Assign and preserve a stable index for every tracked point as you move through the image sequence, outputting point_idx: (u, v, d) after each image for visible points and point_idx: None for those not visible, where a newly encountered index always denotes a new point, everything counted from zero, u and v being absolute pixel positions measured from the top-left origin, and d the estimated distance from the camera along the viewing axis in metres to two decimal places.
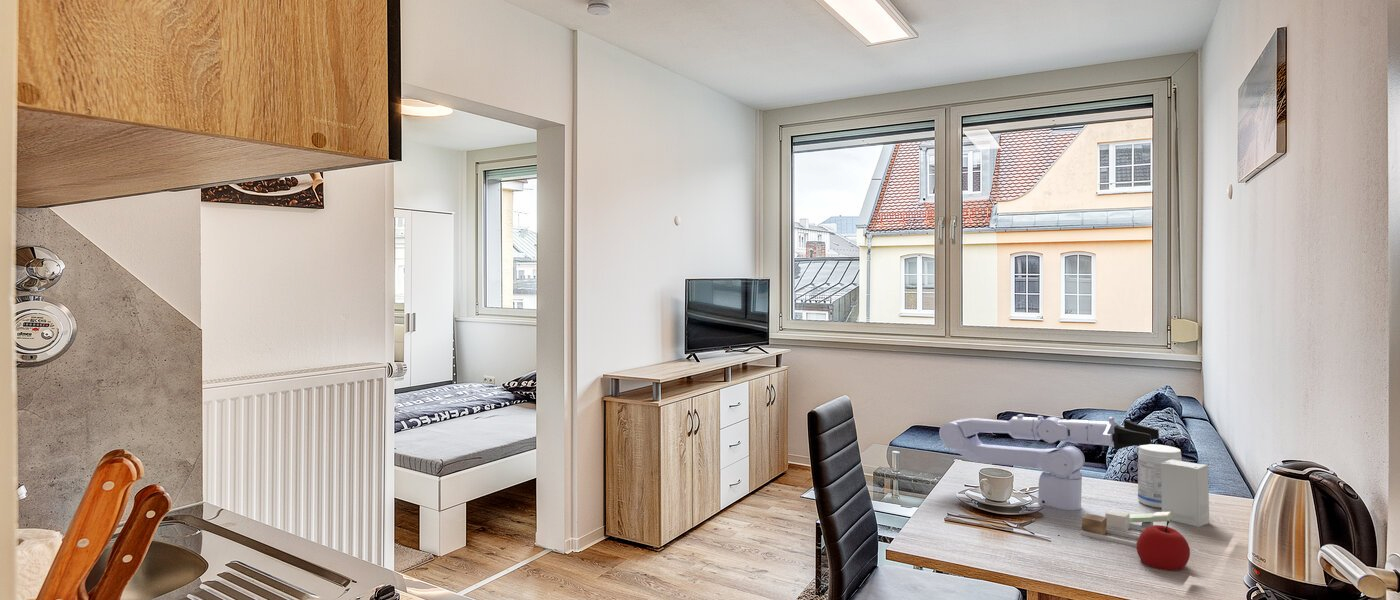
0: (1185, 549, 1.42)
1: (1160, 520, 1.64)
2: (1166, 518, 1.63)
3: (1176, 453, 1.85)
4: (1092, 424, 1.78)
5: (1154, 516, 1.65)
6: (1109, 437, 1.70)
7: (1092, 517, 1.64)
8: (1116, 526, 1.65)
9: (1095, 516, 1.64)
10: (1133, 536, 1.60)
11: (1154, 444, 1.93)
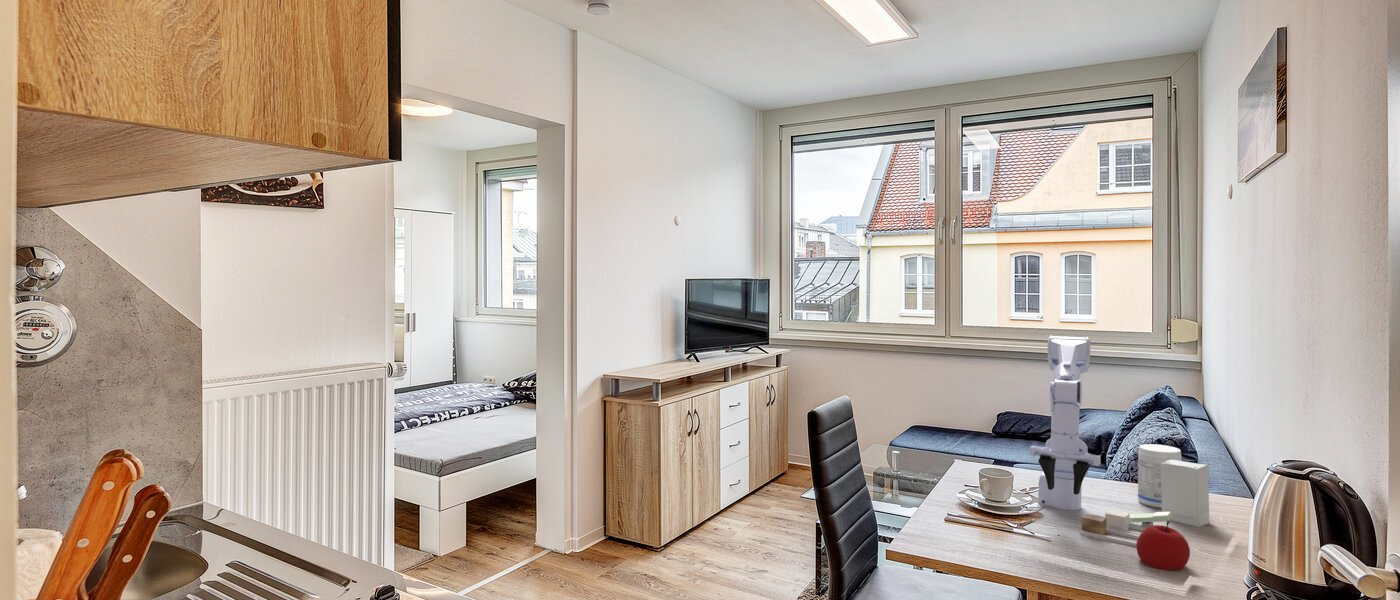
0: (1185, 549, 1.42)
1: (1160, 520, 1.64)
2: (1166, 518, 1.63)
3: (1176, 453, 1.85)
4: (1053, 436, 1.67)
5: (1154, 516, 1.65)
6: None
7: (1092, 517, 1.64)
8: (1116, 526, 1.65)
9: (1095, 516, 1.64)
10: (1133, 536, 1.60)
11: (1154, 444, 1.93)
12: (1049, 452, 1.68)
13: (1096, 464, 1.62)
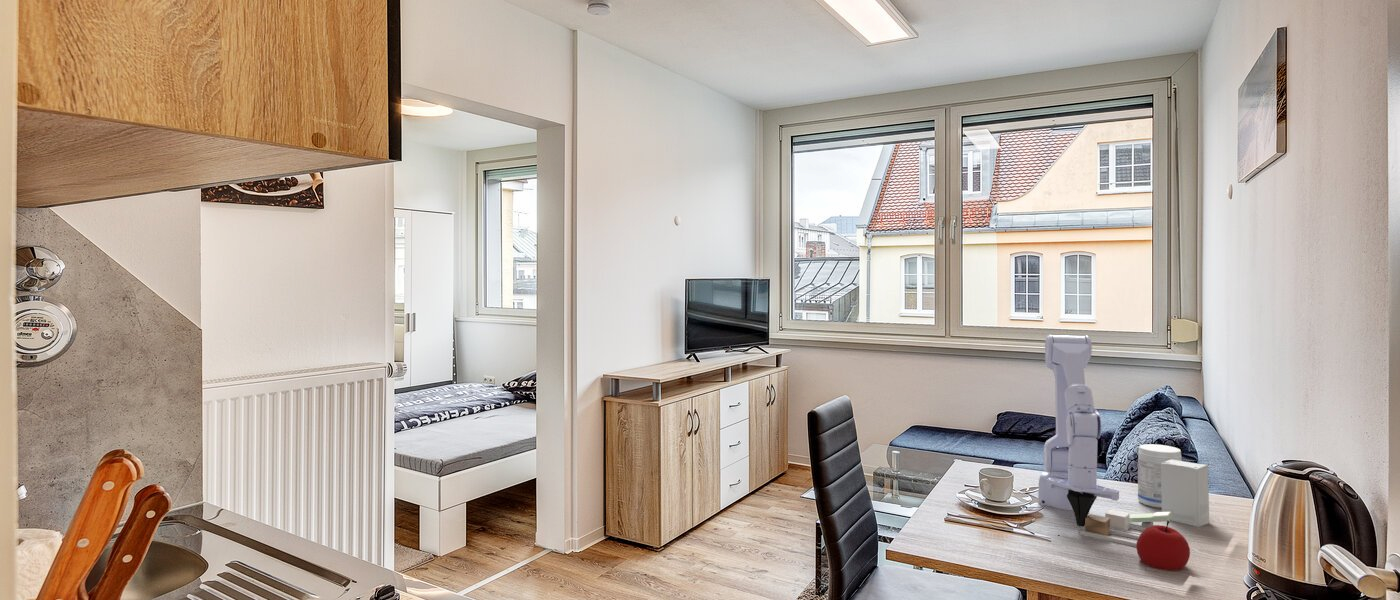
0: (1185, 549, 1.42)
1: (1160, 520, 1.64)
2: (1166, 518, 1.63)
3: (1176, 453, 1.85)
4: (1071, 469, 1.65)
5: (1154, 516, 1.65)
6: None
7: (1096, 517, 1.63)
8: (1116, 526, 1.65)
9: (1098, 517, 1.64)
10: (1133, 536, 1.60)
11: (1154, 444, 1.93)
12: (1066, 485, 1.65)
13: (1115, 499, 1.60)
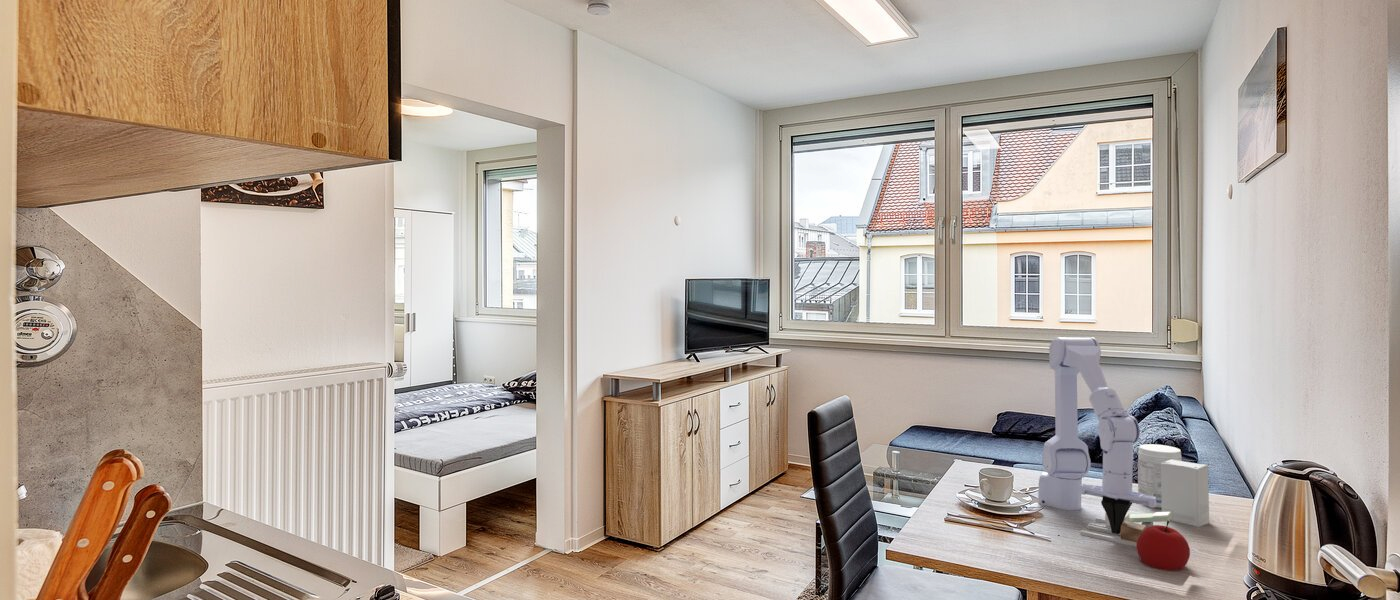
0: (1185, 549, 1.42)
1: (1160, 520, 1.64)
2: (1166, 518, 1.63)
3: (1176, 453, 1.85)
4: (1106, 475, 1.60)
5: (1154, 516, 1.65)
6: None
7: (1131, 525, 1.59)
8: None
9: (1134, 524, 1.59)
10: None
11: (1154, 444, 1.93)
12: (1101, 492, 1.60)
13: (1152, 506, 1.55)
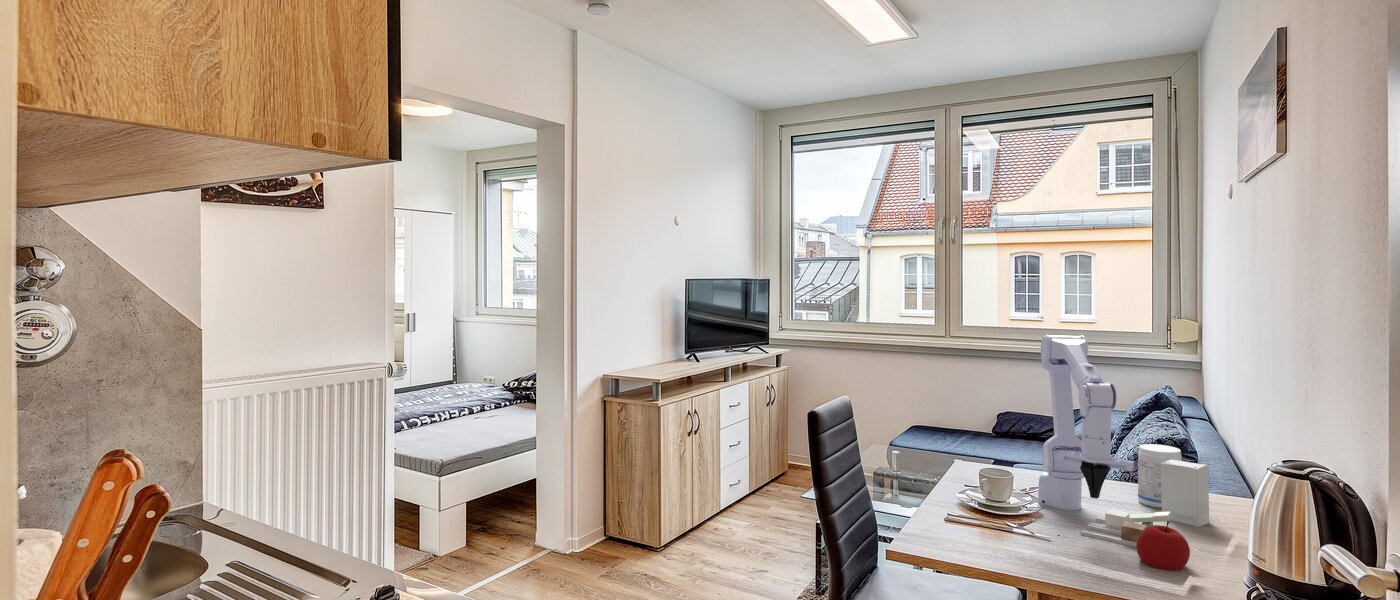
0: (1185, 549, 1.42)
1: (1160, 520, 1.64)
2: (1166, 518, 1.63)
3: (1176, 453, 1.85)
4: (1084, 440, 1.63)
5: (1154, 516, 1.65)
6: None
7: (1132, 525, 1.59)
8: (1116, 526, 1.65)
9: (1135, 524, 1.59)
10: None
11: (1154, 444, 1.93)
12: (1080, 457, 1.63)
13: (1129, 469, 1.58)
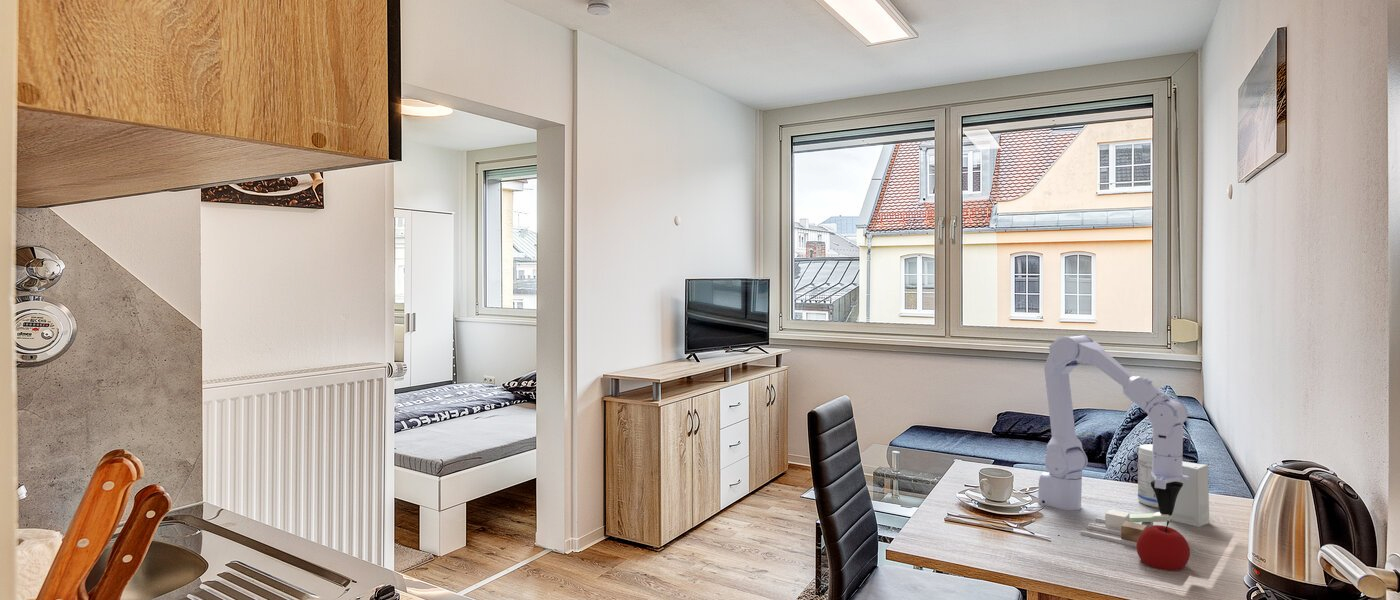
0: (1185, 549, 1.42)
1: (1160, 520, 1.64)
2: (1166, 518, 1.63)
3: None
4: (1177, 460, 1.61)
5: (1154, 516, 1.65)
6: (1161, 487, 1.59)
7: (1132, 525, 1.59)
8: (1116, 526, 1.65)
9: (1135, 524, 1.59)
10: None
11: None
12: (1176, 478, 1.61)
13: None
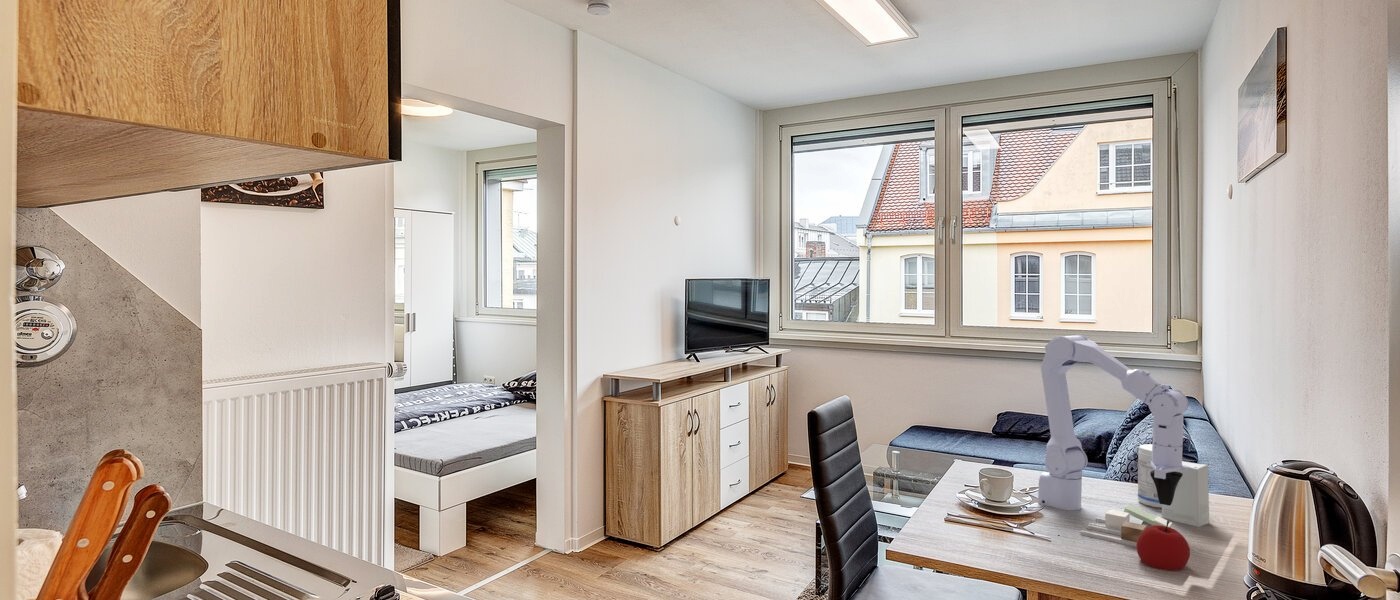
0: (1185, 549, 1.42)
1: None
2: None
3: None
4: (1177, 450, 1.61)
5: (1156, 521, 1.64)
6: (1161, 477, 1.59)
7: (1132, 525, 1.59)
8: (1116, 526, 1.65)
9: (1135, 524, 1.59)
10: None
11: None
12: (1176, 468, 1.61)
13: None
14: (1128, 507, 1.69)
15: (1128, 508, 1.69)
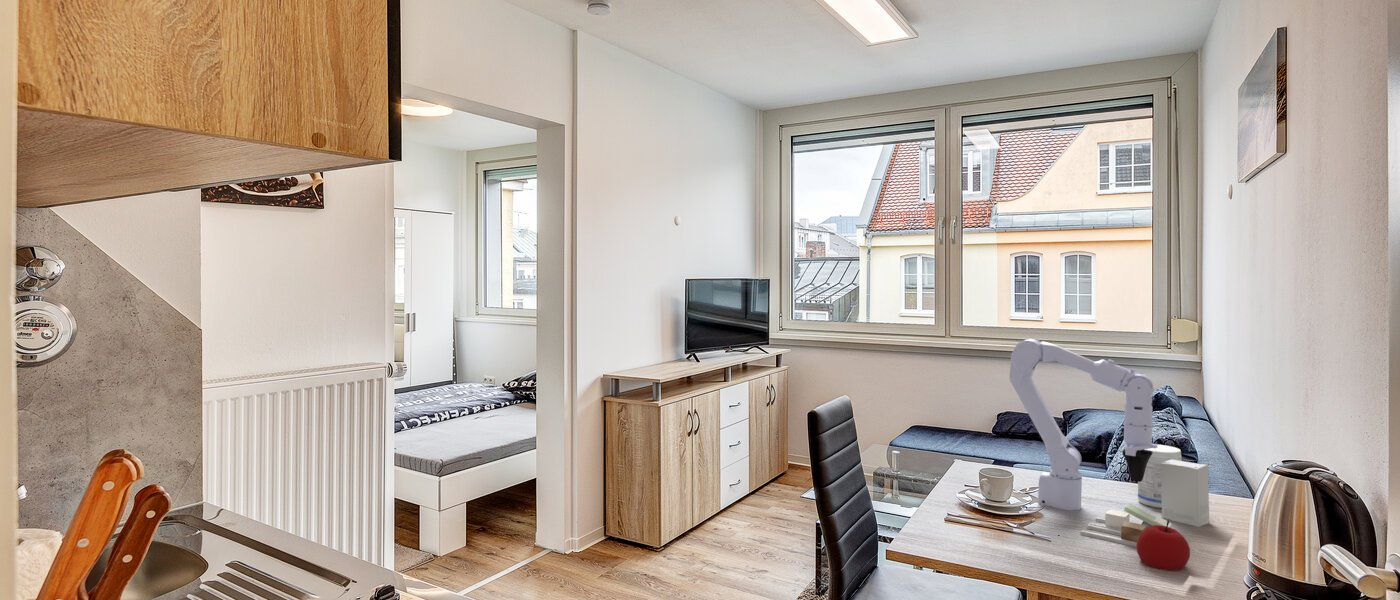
0: (1185, 549, 1.42)
1: None
2: None
3: (1176, 453, 1.85)
4: (1147, 430, 1.72)
5: (1156, 522, 1.64)
6: (1131, 454, 1.70)
7: (1132, 525, 1.59)
8: (1116, 526, 1.65)
9: (1135, 524, 1.59)
10: None
11: None
12: (1146, 446, 1.72)
13: None
14: (1129, 506, 1.69)
15: (1129, 507, 1.68)
